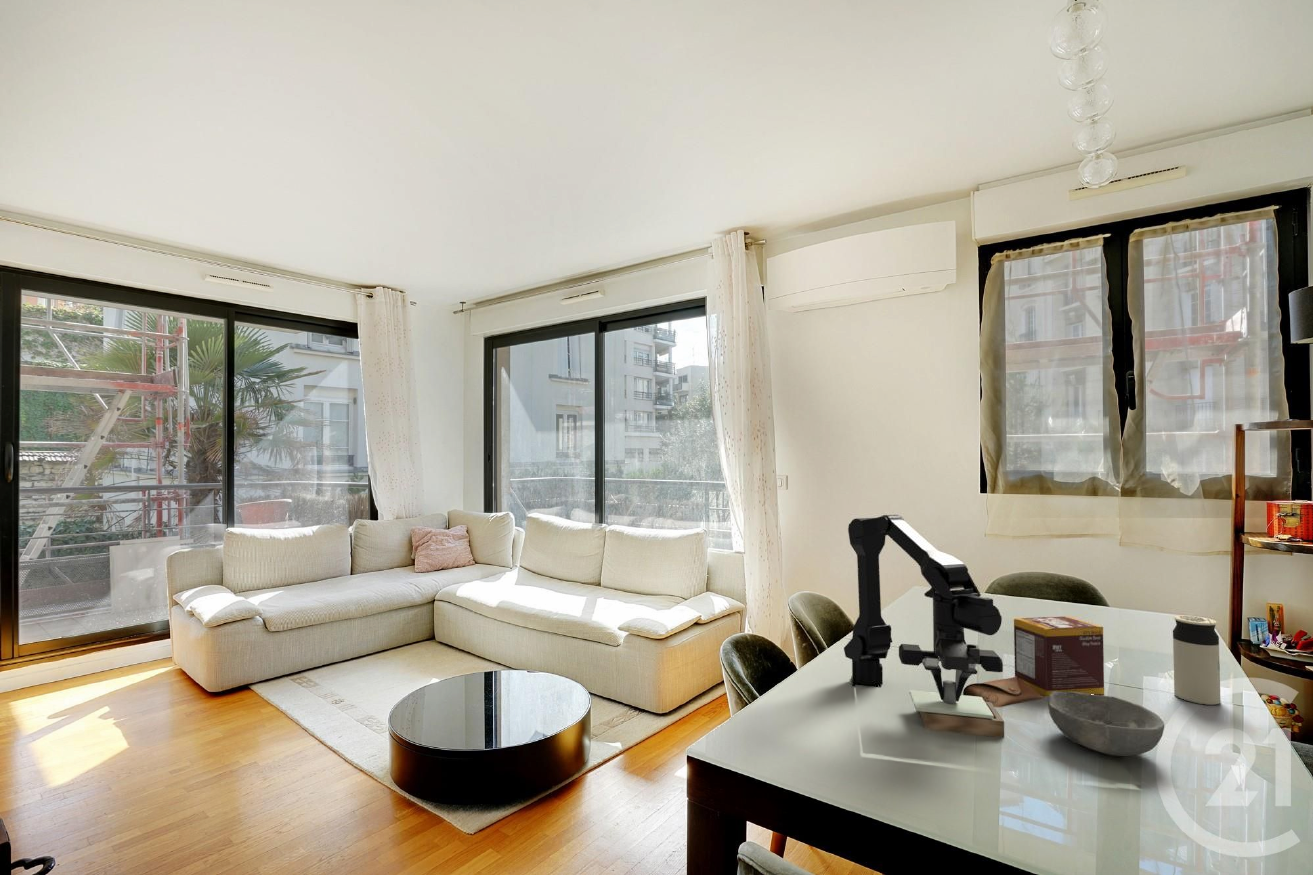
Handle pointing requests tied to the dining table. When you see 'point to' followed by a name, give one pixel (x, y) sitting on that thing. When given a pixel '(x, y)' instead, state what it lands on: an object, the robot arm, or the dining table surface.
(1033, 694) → the sunglasses case
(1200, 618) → the travel mug
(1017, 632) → the supplement box
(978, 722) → the box
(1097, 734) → the bowl
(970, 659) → the robot arm
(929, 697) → the lid
